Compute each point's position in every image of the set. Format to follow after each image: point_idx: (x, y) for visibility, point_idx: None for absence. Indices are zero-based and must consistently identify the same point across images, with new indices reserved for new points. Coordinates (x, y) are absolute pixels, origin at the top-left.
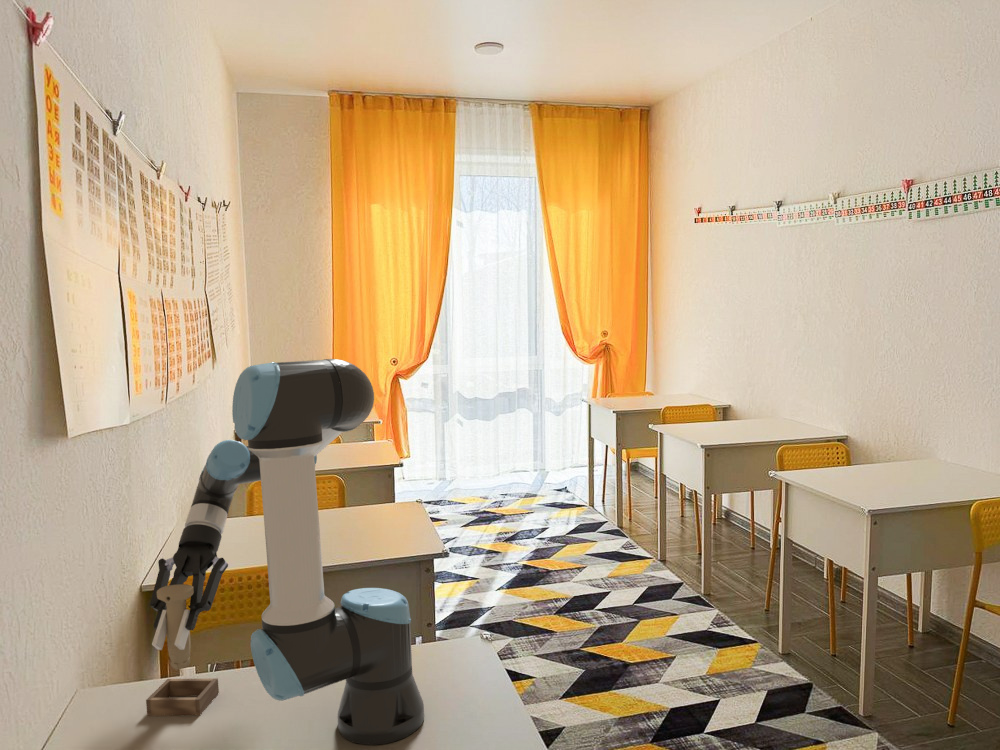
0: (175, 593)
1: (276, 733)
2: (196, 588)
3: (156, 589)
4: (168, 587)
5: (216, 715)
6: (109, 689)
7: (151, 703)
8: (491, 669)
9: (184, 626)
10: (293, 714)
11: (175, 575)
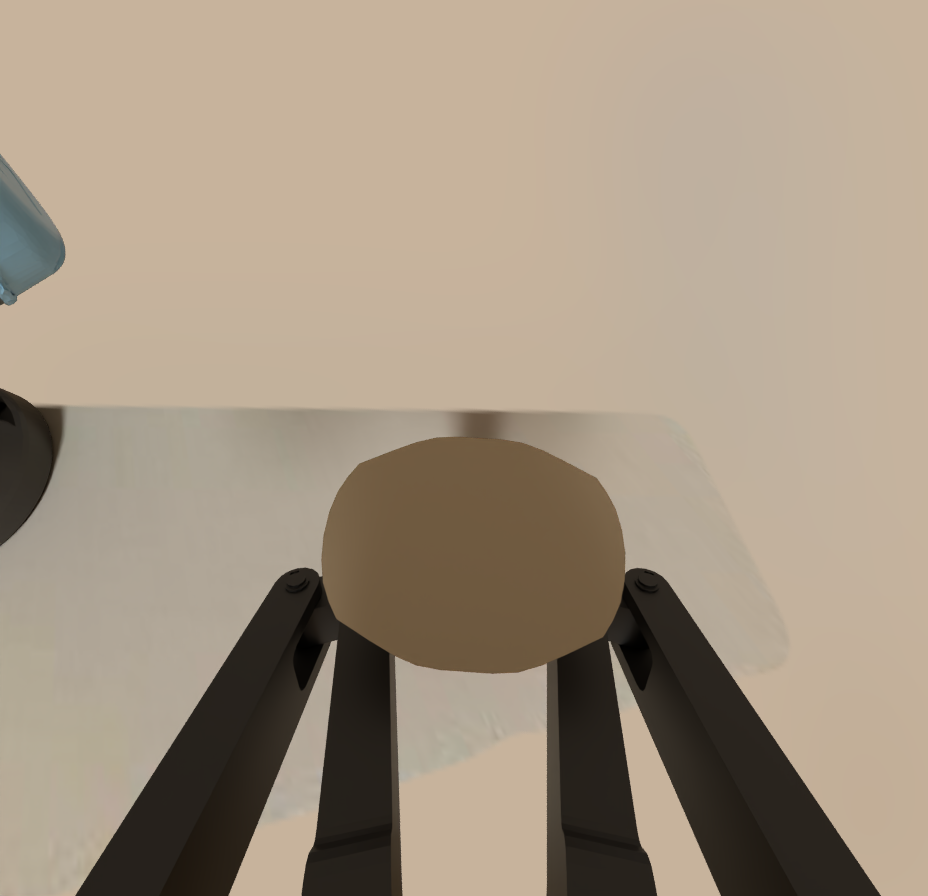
0: (423, 450)
1: (192, 434)
2: (347, 683)
3: (708, 678)
4: (559, 592)
5: None
6: (721, 652)
7: None
8: None
9: None
10: (163, 510)
11: (614, 838)
